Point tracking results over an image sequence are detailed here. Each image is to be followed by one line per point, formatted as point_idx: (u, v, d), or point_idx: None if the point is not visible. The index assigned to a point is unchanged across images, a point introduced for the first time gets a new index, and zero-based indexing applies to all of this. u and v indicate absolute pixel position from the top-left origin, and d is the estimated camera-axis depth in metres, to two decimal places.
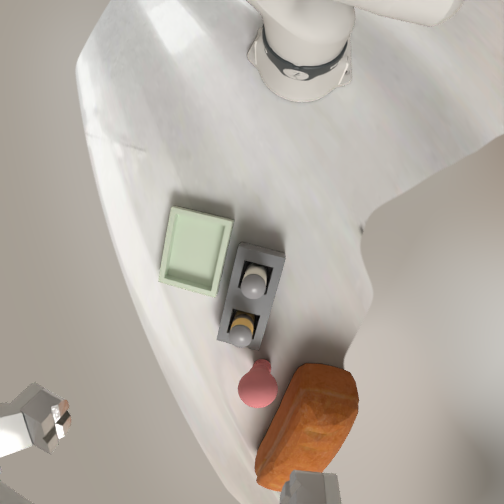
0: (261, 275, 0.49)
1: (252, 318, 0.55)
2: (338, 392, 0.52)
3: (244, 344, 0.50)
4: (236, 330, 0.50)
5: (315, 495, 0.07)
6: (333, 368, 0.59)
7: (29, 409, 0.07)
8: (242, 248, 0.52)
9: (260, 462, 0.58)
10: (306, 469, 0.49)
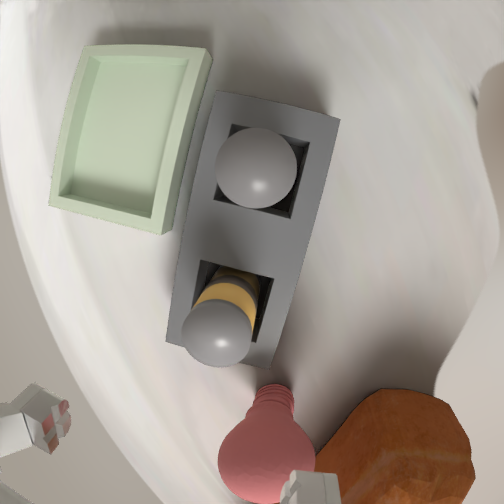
0: None
1: (253, 288, 0.21)
2: (450, 451, 0.19)
3: (229, 359, 0.17)
4: (203, 316, 0.16)
5: (315, 495, 0.07)
6: (428, 398, 0.26)
7: (29, 410, 0.07)
8: (227, 94, 0.18)
9: None
10: None
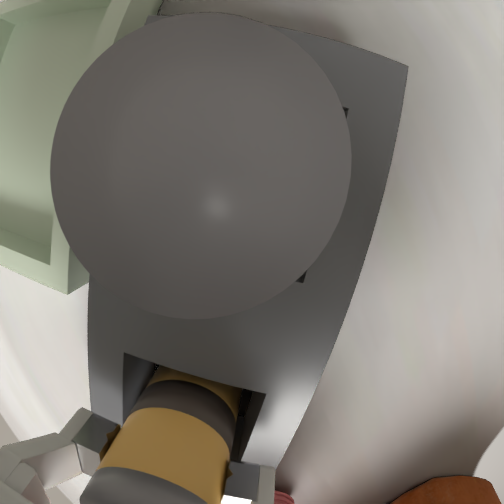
0: None
1: (227, 403, 0.10)
2: None
3: None
4: None
5: (246, 486, 0.07)
6: (478, 483, 0.15)
7: (82, 439, 0.07)
8: None
9: None
10: None
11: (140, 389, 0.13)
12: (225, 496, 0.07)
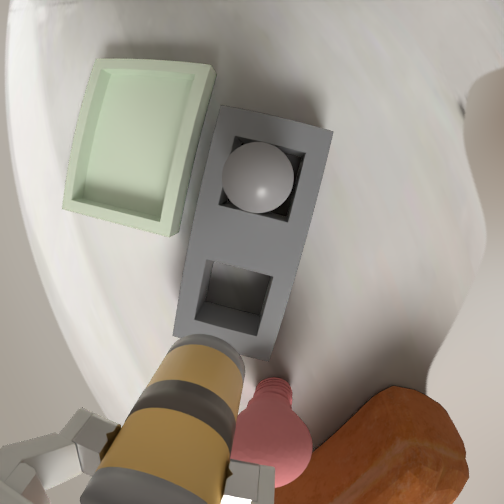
0: None
1: (227, 403, 0.10)
2: (451, 448, 0.21)
3: None
4: None
5: (246, 486, 0.07)
6: (431, 401, 0.28)
7: (82, 439, 0.07)
8: (230, 109, 0.20)
9: None
10: None
11: (203, 292, 0.26)
12: (225, 496, 0.07)
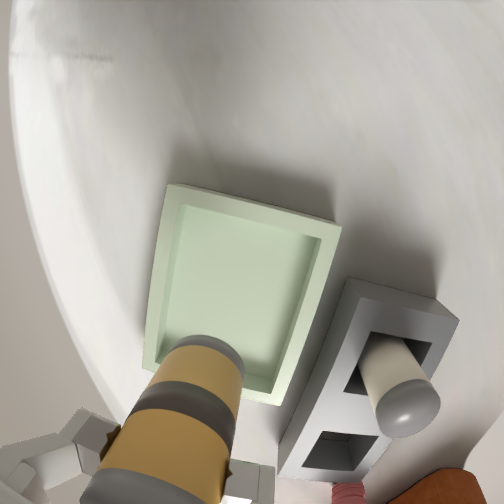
0: (426, 377, 0.15)
1: (227, 404, 0.10)
2: None
3: None
4: None
5: (246, 486, 0.07)
6: (467, 474, 0.25)
7: (83, 439, 0.07)
8: (370, 302, 0.18)
9: None
10: None
11: None
12: (225, 496, 0.07)
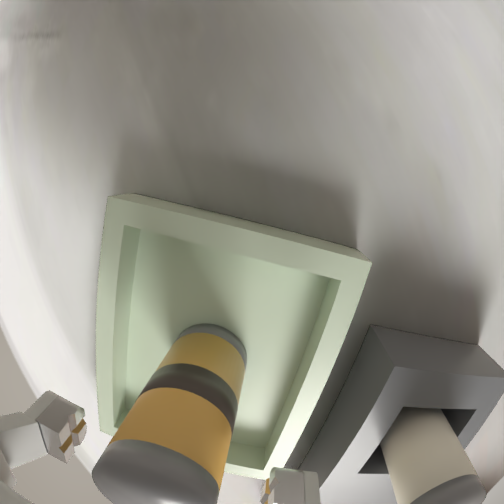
0: (472, 466, 0.08)
1: (230, 385, 0.11)
2: None
3: None
4: (121, 474, 0.06)
5: (293, 493, 0.07)
6: None
7: (45, 419, 0.07)
8: (407, 371, 0.11)
9: None
10: None
11: None
12: None
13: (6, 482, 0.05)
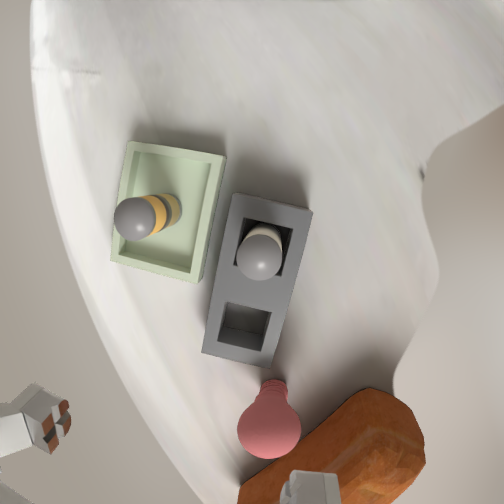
0: (273, 238, 0.27)
1: (169, 203, 0.31)
2: (411, 438, 0.31)
3: (140, 234, 0.26)
4: (125, 205, 0.26)
5: (315, 495, 0.07)
6: (399, 402, 0.38)
7: (29, 410, 0.07)
8: (239, 197, 0.30)
9: None
10: None
11: (222, 321, 0.36)
12: None
13: None
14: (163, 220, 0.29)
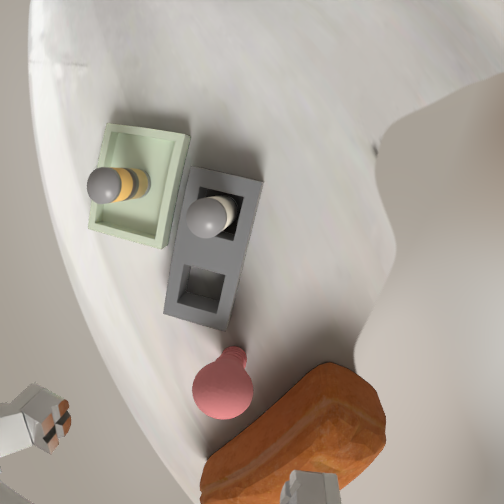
0: (221, 201, 0.30)
1: (137, 175, 0.34)
2: (369, 415, 0.34)
3: (107, 197, 0.29)
4: (97, 173, 0.29)
5: (315, 495, 0.07)
6: (361, 379, 0.41)
7: (29, 410, 0.07)
8: (197, 168, 0.33)
9: (215, 478, 0.39)
10: None
11: (183, 285, 0.39)
12: None
13: None
14: (129, 188, 0.32)
